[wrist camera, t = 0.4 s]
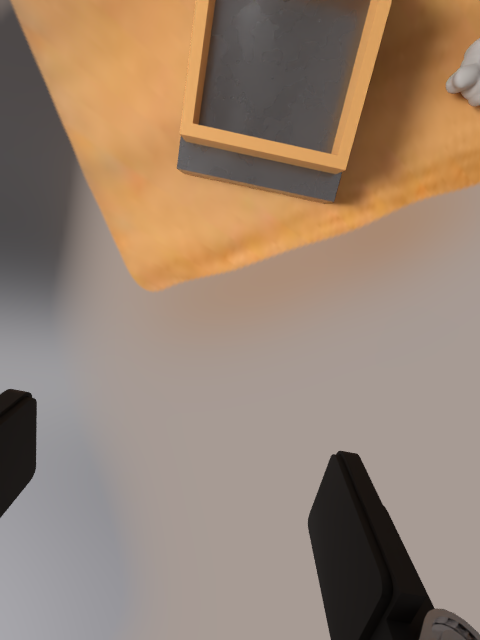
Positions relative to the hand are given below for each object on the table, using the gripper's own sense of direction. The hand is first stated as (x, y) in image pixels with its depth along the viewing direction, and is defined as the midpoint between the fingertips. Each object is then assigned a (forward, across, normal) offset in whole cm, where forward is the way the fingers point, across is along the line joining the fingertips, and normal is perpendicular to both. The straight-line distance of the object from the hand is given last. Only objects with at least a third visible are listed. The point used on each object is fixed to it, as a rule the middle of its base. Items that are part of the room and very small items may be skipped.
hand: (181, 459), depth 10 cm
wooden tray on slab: (+30, -1, -20) cm, 37 cm away
